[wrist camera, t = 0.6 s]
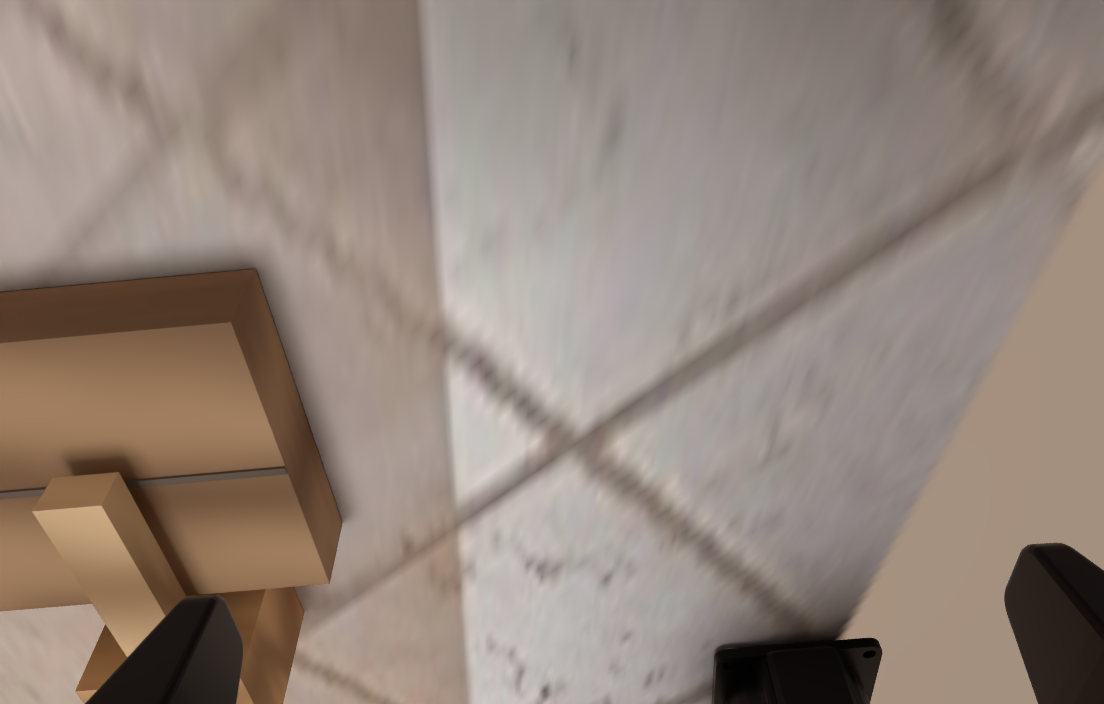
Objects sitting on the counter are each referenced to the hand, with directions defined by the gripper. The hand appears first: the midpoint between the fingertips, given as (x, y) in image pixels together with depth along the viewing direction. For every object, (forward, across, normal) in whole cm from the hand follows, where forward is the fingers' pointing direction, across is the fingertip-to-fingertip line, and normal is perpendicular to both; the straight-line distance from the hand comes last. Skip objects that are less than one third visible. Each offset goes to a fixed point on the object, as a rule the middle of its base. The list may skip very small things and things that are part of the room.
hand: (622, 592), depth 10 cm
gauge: (+14, +13, +13) cm, 23 cm away
